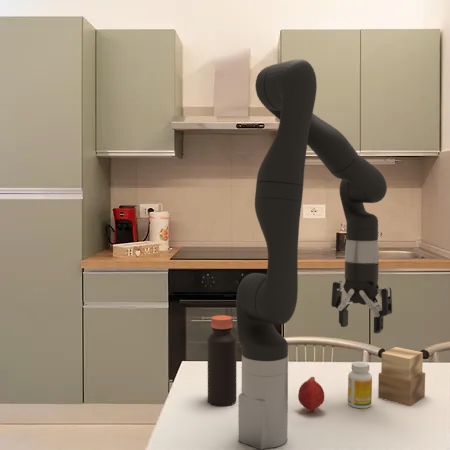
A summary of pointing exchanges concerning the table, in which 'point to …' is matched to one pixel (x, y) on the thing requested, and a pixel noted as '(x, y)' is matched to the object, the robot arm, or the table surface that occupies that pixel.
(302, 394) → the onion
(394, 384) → the tower base
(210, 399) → the vinegar
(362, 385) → the supplement bottle
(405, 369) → the tower top
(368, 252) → the robot arm
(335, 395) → the table surface
